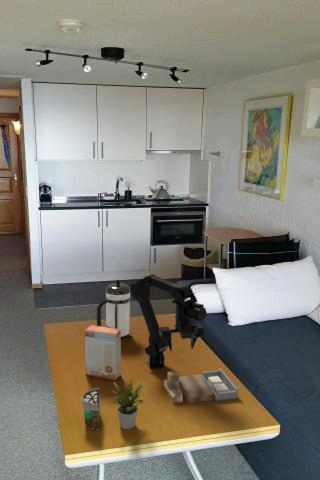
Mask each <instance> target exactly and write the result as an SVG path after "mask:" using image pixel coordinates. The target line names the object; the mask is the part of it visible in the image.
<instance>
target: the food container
mask: <svg viewBox="0 0 320 480" xmlns="http://www.w3.org/2000/svg"><path fill="white" fill-rule="evenodd" d="M100 394H101V389H100V387H95V388H90V389H89V390H87V391H85V392H84V394H83V395H82V398H81V403H80V404H81V405H82V407H83V415H84V425H85V424H86V425H87V426H88V427H90V428H89V429H91V428H94V429H93V430H95V429H99V428H100V418H99V416H101V408H100V407H101V404H100V403H101V395H100ZM86 425H85V426H86ZM87 426H86V427H87ZM88 427H87V428H88Z"/></svg>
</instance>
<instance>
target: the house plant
mask: <svg viewBox="0 0 320 480" xmlns="http://www.w3.org/2000/svg"><path fill="white" fill-rule="evenodd" d="M112 383H113V384H114V386H115V388H116V390H117V392H116V391H114V390H112V392H113V393H114V395H116V396H114V399H115V400H114V401H112V402H111V403H110V405H119V406H118V407H117V408H116V409H117V414H118V423H119V426H121V427H122V428H121V427H120V428H121V429H123V428H124V429H123V430H126V429H129V430H131V429H130V428H132V429H134V428H135V426H136V420H137V417H138V415H137V414H138V412H139V411H138V410H139V409H138V405H140V404H142V403H143V404H144V403H145V404H146V403H147V402H146V401H144V400H143V399H138V398H140V397H144V395H140V393H143V392H148V390H145V389H142V388H143V387H144V385H145V384H147V381H145V382H143V383H142V384H140V385H138V386H135V387H133V378H131V379H130V380H129V382H128V385H127V384H126V383H125V382H124V387H125V394H126V396H125V395H124V394H123V391H122V388H121V387H120V386H119V385H118V384H117V383H116V382H115V381H113V382H112ZM134 389H135V390H134ZM141 389H142V390H141ZM133 390H134V392H133ZM136 403H137V404H136ZM135 404H136V405H135ZM133 427H134V428H133Z"/></svg>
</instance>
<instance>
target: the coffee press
mask: <svg viewBox="0 0 320 480" xmlns="http://www.w3.org/2000/svg"><path fill="white" fill-rule="evenodd" d="M104 291H105V293H106V294H105V299H102V300H101V301H100V302H99V303H98V305H97V308H96V326H101V327H103V326H102V307H103V306H104V305H105V327H108V328H114V329H121V338H122V337H125V336H129V337H130V334H131V335H132V336H133V333H132V331H131V291H130V286H129V285H127V284H125V283H122V282H121V280H120V279H117V280H115V283H111V284H109V285H107V287H106V288H105V289H104Z"/></svg>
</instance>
